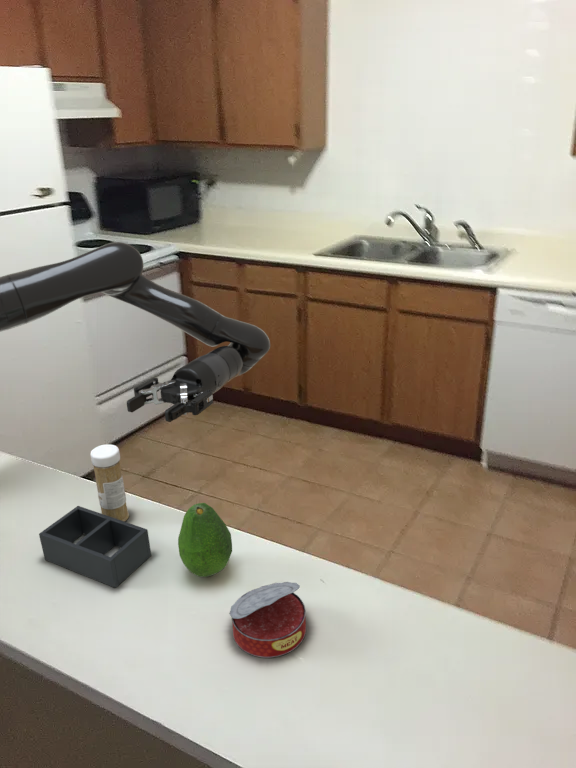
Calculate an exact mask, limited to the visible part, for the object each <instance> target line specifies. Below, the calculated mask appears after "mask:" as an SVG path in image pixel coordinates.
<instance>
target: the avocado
mask: <svg viewBox="0 0 576 768" xmlns="http://www.w3.org/2000/svg"><path fill="white" fill-rule="evenodd" d="M177 545H178V554H179V557H180V559H181V561H182V563H183V565H184V566H185V568H186V569H187V570H188V571H189V572H190V573H191V574H193V575H195V576H197V577H201V578H202V577H206V578H207V577H211V576H213V575H216V574H218V573H219V572H221V571H222V570H224V569H225V567H226V566H227V565H228V563H229V561H230V559H231V556H232V553H233V541H232V533H231V531H230V530H229V527H227V524H226V523H225V522H224V520H223V519H222V518H221V517H220V515H219V514H218V512H217V511H216V510H215V509H214V508H213V507H212V506H210V505H209V504H207V503H206V502H198V503H195V504H193V505H191V506H190V507H189V508H188V509H187V511H186V512H185V513H184V515H183V518H182V522H181V527H180V529H179V534H178V538H177Z"/></svg>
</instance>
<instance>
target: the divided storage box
mask: <svg viewBox="0 0 576 768" xmlns="http://www.w3.org/2000/svg"><path fill="white" fill-rule="evenodd" d="M82 535H85V536H83V537H82ZM38 536H39V541H40V545H41V549H42V555H43V558H44V560H45V561H47V562H50V563H52V564H53V565H54V564H55V565H57V566H59V567H62V568H63V569H67V570H70V571H71V572H74V573H77V574H79V575H81V576H84V577H87V578H89V579H92V580H94V581H97V582H99V583H102V584H104V585H107V586H109V587H112V588H114V589H116V588H117V587H118V586H119V585H120V584H122V583H123V582H124V581H125V580H127V578H128V577H130V575H132V574H133V573H134V572H135V570H137V569H138V568H139V567H140V566H141V565H142V564H143V563H145V562H147V560H148V559H149V558H150V557H152V550H151V544H150V537H149V530H148V528H145V527H142V526H139V525H135V524H133V523H130V522H127V521H125V522H124V521H121V520H118V519H116V518H113V517H110V516H107V515H104V514H102V512H98V511H95V510H92V509H89V508H86V507H83V506H81V505H77V506H76V507H74V508H72V509H71V510H69V512H66V514H63V516H61V517H60V518H58V519H57V520H56V521H54V522H53V523H51V524H50V525H49V526H47V527H46V528H45V529H43V530H42V531H41V532H40V533H38ZM80 537H82V538H81V539H80V540H78V541H77V542H74V541H76V540H77V539H78V538H80ZM114 547H117V548H119V549H118V550H116V552H114V553H113V554H112V555H111V556H109V555H105V554H106V553H108V552H109V551H110V550H112V548H114Z"/></svg>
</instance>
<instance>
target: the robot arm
mask: <svg viewBox="0 0 576 768" xmlns="http://www.w3.org/2000/svg"><path fill="white" fill-rule="evenodd" d="M143 272H144V259H143V257H142V255H141V253H140V251H138V250H137V248H135V247H134V246H132V245H130V244H128V243H125V242H119V241H115V242H114V241H113V242H109V243H105V244H103V245H101V246H98V247H97V248H94V249H92V250H90V251H89V250H88V251H86V252H85V253H82V254H80V255H77V256H75V257H72V258H70V259H66V260H63V261H59V262H54V263H51V264H46V265H45V264H44V265H41V266H37V267H33V268H28V269H25V270H21V271H17V272H13V273H8V274H6V275H2V276H0V333H3V332H5V331H9V330H12V329H15V328H19V327H21V326H24V325H27V324H29V323H32V322H34V321H37V320H39V319H41V318H44V317H46V316H48V315H50V314H52V313H53V312H56V311H58V310H60V309H62V308H63V307H65V306H67V305H69V304H70V303H72V302H73V303H74V302H75V301H77V300H79V299H82V298H85V297H88V296H93V295H96V294H103V295H106V296H108V297H111V298H113V299H116V300H119V301H120V302H123V303H126V304H129V305H131V306H134V307H136V308H138V309H140V310H143V311H145V312H147V313H149V314H151V315H153V316H154V317H157V318H159V319H161V320H163V321H165V322H167V323H168V324H170V325H172V326H174V327H175V328H178V329H179V330H181V331H182V332H184V333H186V334H187V335H189V336H191V337H193V338H194V339H196V340H198V341H200V342H201V343H203V344H205V346H209V347H212V348H213V347H214V349H213V350H211V351H209V352H208V353H206V354H203V355H200V356H198V357H197V358H195V359H193V360H192V361H190V362H188V363H186V364H185V365H183V366H181V367H179V368H177V369H176V371H175V372H174V374H173V375H172V377H171V379H170V380H167V381H163V382H160V381H159V378H158V377H152V378H150V379H149V380H146V381H145V382H142V383H141V384H138V385H137V386H135V387H133V395H134V396H133V397H131V398H129V399H127V400H126V408H127V412H128V413H134V412H136V411H137V410H139V409H140V408H142V407H144V406H145V405H148V404H154V405H161V404H172V405H171V406H169V407H168V408H167V409H165V411H164V417H165V418H164V419H165V422H168V423H172V422H173V421H175V420H177V419H179V418H180V417H181V416H186V415H189V414H190V413H191V414H192V415H193V416H198V415H200V414H201V413H203V411H205V410H206V409H207V408H209V406H212V405H213V404H214V395H213V394H215V393H217V392H218V391H219V390H221V389H222V388H223V387H224V386H225V385H226V384H228V383H229V382H231V381H232V380H234V379H235V378H236V377H239V376H242V375H243V374H246V373H248V372H249V371H250V370H251V369H253V367H255V366H256V365H257V364H258V363H259V361H261V360H262V359H263V358H264V357H265V356H266V355H267V354H268V353H269V351H270V349H271V340H270V337H269V336H268V334H267V333H266V332H265V331H264V330H263V329H262V328H260V327H258V326H257V325H254V324H252V323H248V322H245V321H241V320H240V319H239V320H238V319H235V318H232V317H228V316H226V315H223V314H221V313H220V312H218V311H216V310H215V309H213V308H212V307H210V306H209V305H207V304H205V303H204V302H201V301H199V300H197V299H196V298H194V297H191V296H188V295H185V294H182V293H180V292H178V291H177V292H176V291H174V290H171V289H169V288H166V287H164V286H163V285H159V284H158V283H155V282H154V281H153V280H150V278H147V277H146V276H145V275H144V274H143ZM226 342H227V343H229V344H228V345H221V344H223V343H226ZM219 345H221V346H219ZM217 346H219V347H217ZM215 347H217V348H215ZM158 392H160V398H158V397H159V396H158ZM150 396H151V397H150Z"/></svg>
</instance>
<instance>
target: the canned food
mask: <svg viewBox="0 0 576 768" xmlns="http://www.w3.org/2000/svg"><path fill="white" fill-rule="evenodd" d="M300 587H301V585H300V584H299V583H297V582H290V581H284V582H274V583H271V584H267V585H262V586H260V587H257V588H254V589H251V590H249V591H246V593H244V594H243V595H241V596H240V597H239V598H237V600H236V601H235V602H234V603H233V604H232V605H231V607H230V610H229V613H228V614H229V616H230V617H231V622H232V637H233V639H234V642H235V644H236V645H237V647H239V648H240V649H241V650H242V651H243V652H245V653H247V654H248V655H251V656H254V657H258V658H265V659H267V658H269V659H270V658H278V657H281V656H285V655H287V654H288V653H291V652H293V651H294V650H295V649H297V648H298V646H300V645H301V644H302V642H303V641H304V638H305V637H306V633H307V623H306V622H307V621H306V620H307V619H306V617H307V616H306V611H307V609H306V606H305V603H304V601H303V599H301V597H300V596H299V595H298V594H296V591H298V590H299V589H300Z"/></svg>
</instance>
